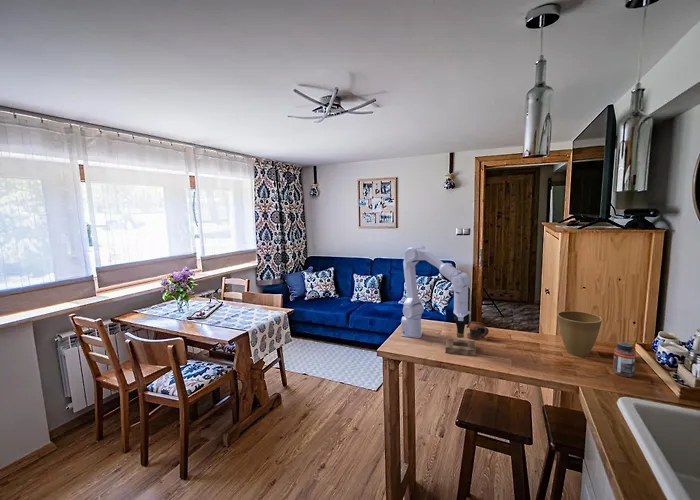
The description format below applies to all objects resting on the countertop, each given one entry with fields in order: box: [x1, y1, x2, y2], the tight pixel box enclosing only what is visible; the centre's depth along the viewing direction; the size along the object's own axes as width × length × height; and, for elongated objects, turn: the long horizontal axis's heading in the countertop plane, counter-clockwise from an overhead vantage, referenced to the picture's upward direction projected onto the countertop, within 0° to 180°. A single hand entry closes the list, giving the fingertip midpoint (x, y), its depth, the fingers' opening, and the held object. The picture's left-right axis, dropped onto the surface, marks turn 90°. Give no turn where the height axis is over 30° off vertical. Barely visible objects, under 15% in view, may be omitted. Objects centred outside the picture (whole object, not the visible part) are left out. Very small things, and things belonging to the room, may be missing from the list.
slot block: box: [445, 337, 477, 357], centre depth 140 cm, size 12×10×2 cm
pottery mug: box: [465, 321, 490, 341], centre depth 154 cm, size 12×10×8 cm
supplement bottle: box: [612, 341, 637, 378], centre depth 116 cm, size 6×6×11 cm
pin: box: [456, 330, 465, 339], centre depth 139 cm, size 3×3×7 cm
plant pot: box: [556, 310, 603, 358], centre depth 133 cm, size 15×15×16 cm
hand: (460, 331), depth 139 cm, fingers closed on pin, 3 cm apart
